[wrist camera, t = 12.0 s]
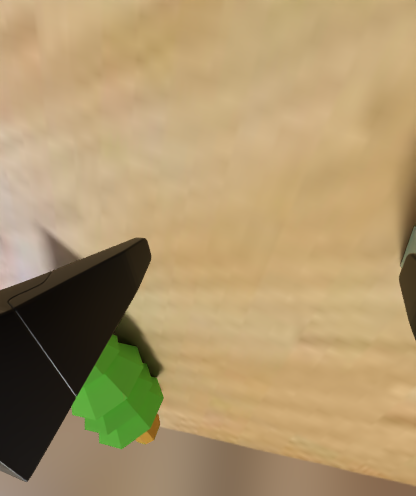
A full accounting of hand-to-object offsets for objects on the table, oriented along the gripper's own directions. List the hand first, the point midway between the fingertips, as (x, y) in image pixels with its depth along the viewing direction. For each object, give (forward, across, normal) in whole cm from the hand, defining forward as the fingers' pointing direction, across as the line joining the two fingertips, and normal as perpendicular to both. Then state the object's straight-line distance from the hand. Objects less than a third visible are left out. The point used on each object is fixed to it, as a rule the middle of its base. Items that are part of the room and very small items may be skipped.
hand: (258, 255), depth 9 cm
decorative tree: (+13, +22, +27) cm, 37 cm away
